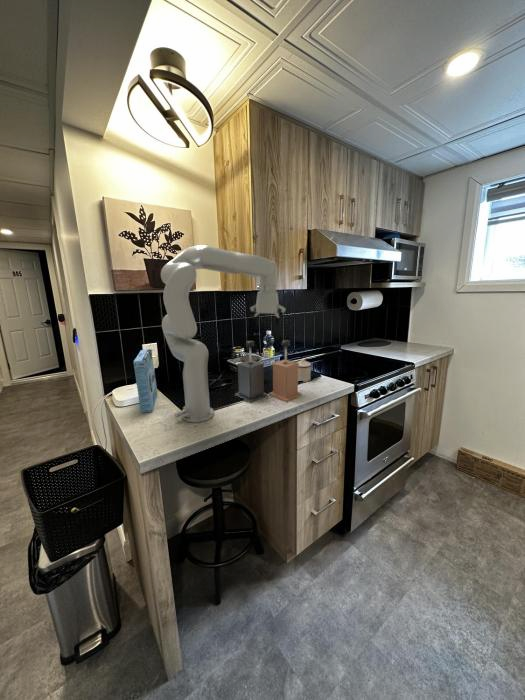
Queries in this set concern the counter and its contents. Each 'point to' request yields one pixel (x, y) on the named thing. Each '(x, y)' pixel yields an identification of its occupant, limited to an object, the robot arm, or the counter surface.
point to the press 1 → (251, 381)
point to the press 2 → (285, 381)
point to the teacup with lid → (304, 371)
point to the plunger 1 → (250, 344)
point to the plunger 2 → (285, 343)
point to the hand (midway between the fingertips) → (267, 325)
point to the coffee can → (255, 358)
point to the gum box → (145, 380)
